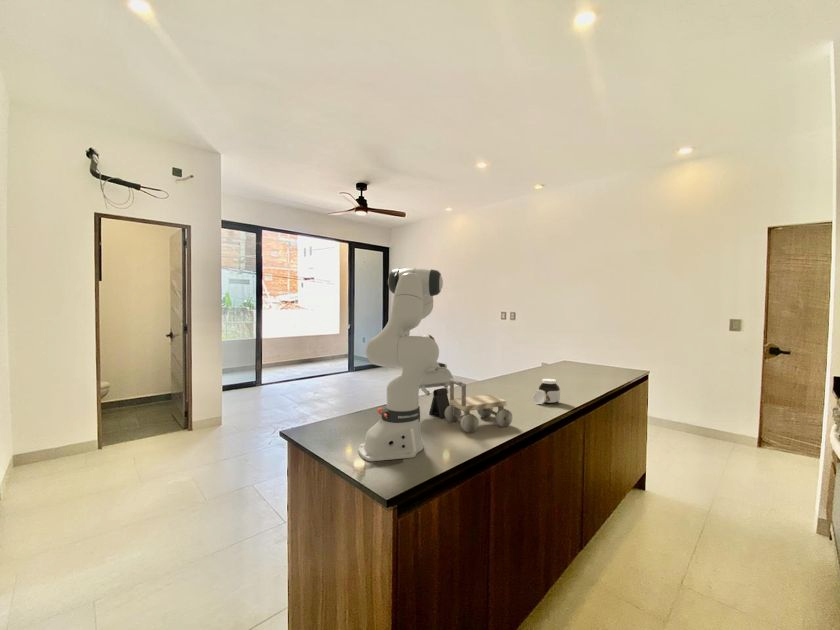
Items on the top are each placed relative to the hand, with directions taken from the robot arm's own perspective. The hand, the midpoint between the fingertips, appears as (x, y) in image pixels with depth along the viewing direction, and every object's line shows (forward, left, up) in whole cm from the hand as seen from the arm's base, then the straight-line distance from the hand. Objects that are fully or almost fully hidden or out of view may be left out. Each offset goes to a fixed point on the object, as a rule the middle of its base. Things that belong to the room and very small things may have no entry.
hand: (437, 393), depth 164 cm
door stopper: (0, -3, -9) cm, 10 cm away
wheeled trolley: (+9, -20, -9) cm, 24 cm away
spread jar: (+57, -7, -9) cm, 58 cm away
